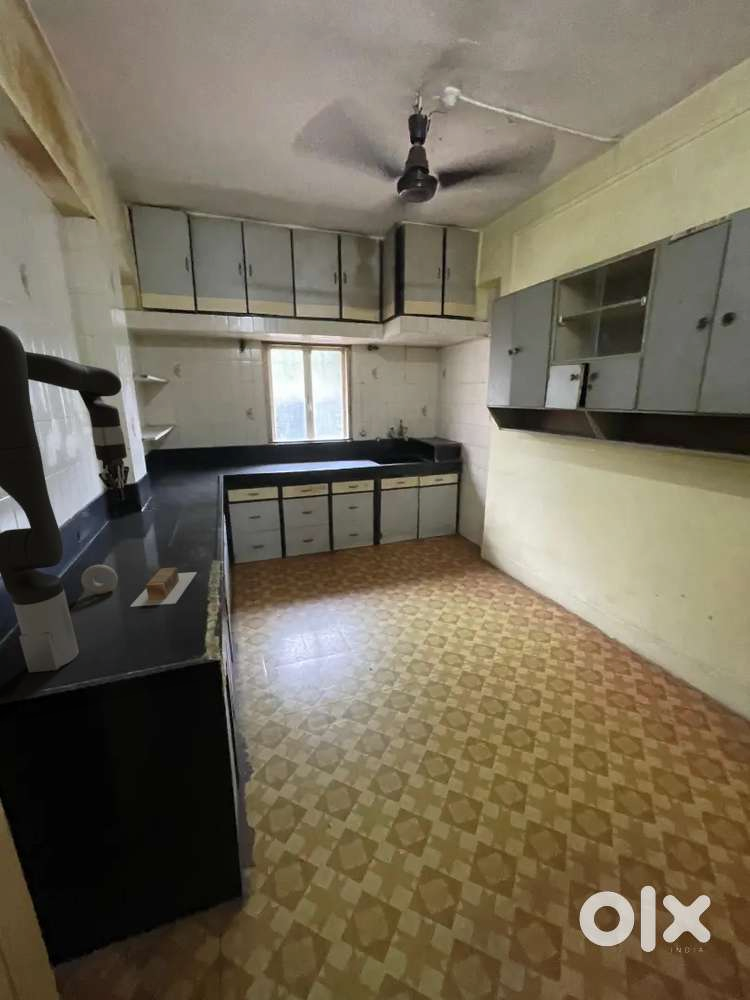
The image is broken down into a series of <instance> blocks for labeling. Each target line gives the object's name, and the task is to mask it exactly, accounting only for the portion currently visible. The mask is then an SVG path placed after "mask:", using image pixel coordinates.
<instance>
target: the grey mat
mask: <svg viewBox="0 0 750 1000" xmlns="http://www.w3.org/2000/svg"><path fill="white" fill-rule="evenodd" d="M197 573H198V572H197V571H193V572H192V571H191V572H180V573H179V572H178V578H179V582H178V583H177V584H176V586H175V587H174V588H173V590H172V591H171V592H170V594H169V595H168V596H167V598H166V599H154V600H149V599H148V593H147V588H146V587H145V589H144V590H143V591H142V593H141V594H139V595H138V597H137V598H136V599H135V600H134V601H133V602H132V603H131V605H129V607H131V608H132V607H142V606H157V605H158V606H159V605H173V604H174V605H175V604H177V602H178V600H179V599H180V597H181V596H182V595H183V593H184V592H185V591H186V589H187V587H188V586H189V584H190V583H191V582H192V581H193V579H194V578H195V576H196V574H197Z"/></svg>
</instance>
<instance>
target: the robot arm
mask: <svg viewBox="0 0 750 1000" xmlns="http://www.w3.org/2000/svg"><path fill="white" fill-rule="evenodd" d="M29 380H30V381H35V382H40V383H43V384H48V385H51V386H56V387H59V388H63V389H66V390H67V389H68V390H71V391H76V392H77V391H78V393H79V395H80V397H81V399H82V401H83V403H84V405H85V408H86V409H87V411H88V413H89V419H90V424H91V425H90V426H91V429H92V430H91V431H92V432H91V434H92V440H93V446H94V450H95V451H94V452H95V456H96V459H97V460H98V461H102V469H103V471H102V472H99V473H98V477H99V479H100V480H101V481H102V483H103V484H104V485H105V487H106V488H107V489H111V490H112V493H113V498H114V499H113V500H114V501H115V502H123V501H124V500H125V498H126V497H125V493H124V487H125V485H126V484H127V481H128V477H129V471H130V466H127V465H125V463H124V460H123V459H126V458H127V457H128V453H127V449H126V443H125V442H126V441H125V436H124V432H123V429H122V426H121V419H120V411H119V409H118V408H117V406H114V405H111V404H106V403H105V402H104V400H103V399H102V397H113V396H116V395H118V394H119V393H120V391H121V389H122V382H121V379H120V377H119V376H118V375H117V374H116V373H115V372H113V371H112V370H109V369H105V368H101V367H96V366H91V365H90V366H89V365H85V364H80V363H78V362H75V361H72V360H69V359H66V358H63V357H59V356H54V355H49V354H44V353H43V354H42V353H38V352H37V353H36V352H30V351H26V350H25V348H24V345H23V343H22V340H21V339H20V338H19V336H18V335H17V334H16V333H15V332H14V331H13V330H12V329H10V328H8V327H6V326H5V325H0V488H1V489H2V490H3V491H4V492H5V493H6V494H8V495H9V496H10V497H11V499H13V500H14V501H15V502H16V503H17V504H18V505H19V506H20V508H21V509H22V511H23V512H24V513H25V516H26V518H27V521H28V524H29V526H30V527H27V528H25V527H24V528H15V529H5V530H3V531H2V532H0V576H1V579H2V582H3V585H4V588H5V591H6V593H7V594H8V595H9V596H10V597H11V599H12V603H13V607H14V612H15V614H16V619H17V622H18V626H19V629H20V633H21V635H20V636H19V641H20V645H21V648H22V649H21V650H22V653H23V656H24V660H25V664H26V667H27V670H28V673H38V672H49V671H51V670H52V671H57V670H59V669H60V668H62V667H63V666H65V665H66V664H69V663H70V662H72V661H73V660H74V659H76V658H77V656H78V655H79V652H80V651H79V647H78V641H77V638H76V634H75V630H74V626H73V625H74V624H73V622H72V617H71V613H70V609H69V604H68V600H67V595H66V592H65V588H64V584H63V581H62V579H61V578H60V577H59V576H57V575H52V574H48V573H44V572H42V571H39V570H38V569H44V568H53V567H55V566H57V565H59V564H60V562H61V561H62V558H63V553H64V545H63V539H62V535H61V531H60V528H59V525H58V522H57V518H56V516H55V513H54V509H53V506H52V502H51V499H50V495H49V492H48V487H47V482H46V478H45V477H46V476H45V469H44V464H43V458H42V454H41V448H40V445H39V440H38V436H37V432H36V426H35V421H34V416H33V415H34V414H33V410H32V403H31V394H30V383H29ZM52 671H51V672H52Z"/></svg>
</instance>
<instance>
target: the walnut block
mask: <svg viewBox="0 0 750 1000" xmlns="http://www.w3.org/2000/svg"><path fill="white" fill-rule="evenodd" d="M178 573H179V572H178V568H177V567H164V568H160V569H159V570H158V571H157V572H156V574H155V575H154V576H153V577H152V578H151V579H150V580H149V581H148V582H147V584H145V586H146V587H145V589H146V588H147V593H148V599H149V600H154V599H166V598H167V596H168V595H169V594H170V592H171V591H172V590H173V588H174V587H175V586H176V584H177V583H178V582H179V578H178Z"/></svg>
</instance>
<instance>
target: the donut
mask: <svg viewBox="0 0 750 1000" xmlns="http://www.w3.org/2000/svg"><path fill="white" fill-rule="evenodd" d="M96 576H97V577H98V576H101V577H103V578H104V579H105V580H104V582H103V583H100V582H99V583H98V582H97V581H95V577H96ZM118 578H119V577H118V574H117V572H116V571H115V570H114V569H113V568H112V567H110V566H109V565H105V564H95V565H91V566H89V567H88V568H86V569H85V570H84V571H83V572H82V575H81V577H80V579H81V580H80V583H81V584H82V587H83V588H84V589H85V590H86V591H87V592H89V593H91V594H95V595H103V594H108V593H109V592H111V591H113V590H114V588H115V587H117V584H118V582H119V581H118V580H119V579H118Z"/></svg>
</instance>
